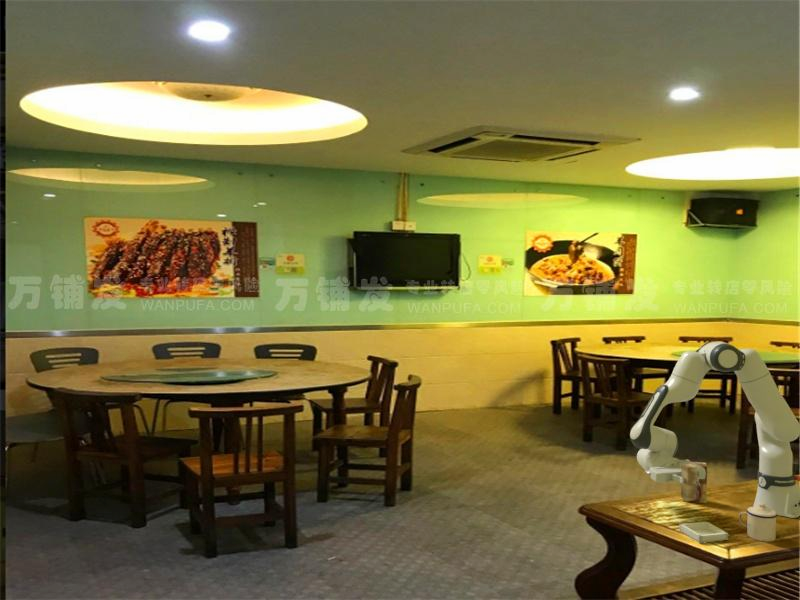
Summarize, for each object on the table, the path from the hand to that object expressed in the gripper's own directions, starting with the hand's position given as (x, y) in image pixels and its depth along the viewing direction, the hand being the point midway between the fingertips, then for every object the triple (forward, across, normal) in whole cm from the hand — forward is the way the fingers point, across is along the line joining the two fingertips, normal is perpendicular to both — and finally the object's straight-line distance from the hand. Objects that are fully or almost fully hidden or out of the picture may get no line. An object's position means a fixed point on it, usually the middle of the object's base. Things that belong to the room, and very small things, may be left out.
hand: (690, 480), depth 239 cm
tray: (+8, -1, +17) cm, 19 cm away
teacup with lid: (+12, +17, +17) cm, 27 cm away
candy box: (-23, +18, +17) cm, 34 cm away
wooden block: (-1, 0, +7) cm, 7 cm away
